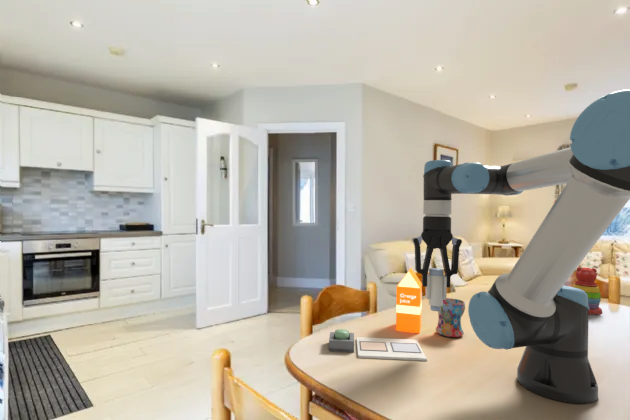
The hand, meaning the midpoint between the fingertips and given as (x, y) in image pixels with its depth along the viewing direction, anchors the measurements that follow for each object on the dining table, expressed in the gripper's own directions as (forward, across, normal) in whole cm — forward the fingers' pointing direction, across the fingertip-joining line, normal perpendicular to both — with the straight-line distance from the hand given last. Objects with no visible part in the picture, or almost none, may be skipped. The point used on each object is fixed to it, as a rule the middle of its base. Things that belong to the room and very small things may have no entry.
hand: (435, 298), depth 101 cm
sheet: (+15, +13, +1) cm, 20 cm away
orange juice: (+15, +4, -19) cm, 25 cm away
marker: (+3, 0, 0) cm, 3 cm away
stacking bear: (+15, -70, -51) cm, 88 cm away
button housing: (+15, +26, +1) cm, 30 cm away
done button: (+12, +26, +1) cm, 29 cm away
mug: (+15, -9, -16) cm, 24 cm away
